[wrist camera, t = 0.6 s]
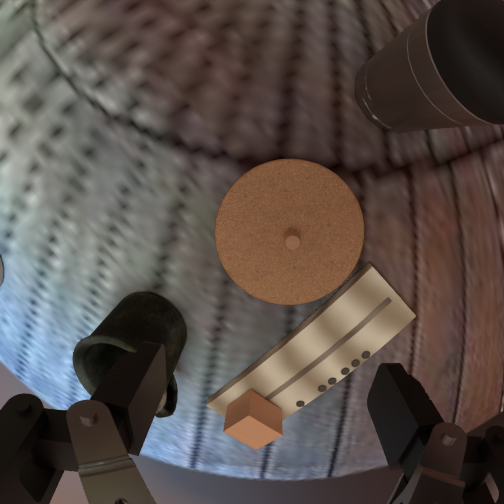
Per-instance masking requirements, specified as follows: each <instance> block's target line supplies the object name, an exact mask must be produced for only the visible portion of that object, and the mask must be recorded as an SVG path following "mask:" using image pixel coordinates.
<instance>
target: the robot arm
mask: <svg viewBox="0 0 504 504" xmlns="http://www.w3.org/2000/svg"><path fill="white" fill-rule="evenodd" d="M355 91H356V97H357V100H358V103H359V105H360V107H361V109H362V111H363V112H364V114H365V115H366V116H367V117H368V119H369V120H371V121H372V122H373V123H374V124H375V125H377V126H378V127H380V128H382V129H384V130H387V131H390V132H396V133H399V132H409V131H420V130H429V129H440V128H451V127H464V126H477V125H497V124H504V1H503V0H440V1H439V2H438V3H437V4H435V5H434V6H433V7H432V8H430V9H429V10H428V11H427V12H425V13H424V14H423V15H422V16H420V17H419V18H418V19H417V20H416V21H415V22H413V23H412V24H411V25H410V26H409V27H407V28H406V29H405V30H404V31H403V32H401V33H400V34H399V35H398V36H397V37H395V38H394V39H393V40H392V41H391V42H390V43H388V44H387V45H386V46H385V47H384V48H383V49H381V50H380V51H379V52H378V53H377V54H375V55H374V56H373V57H372V58H371V59H370V60H369V61H368V62H367V63H366V64H364V65H363V66H362V68H361V69H360V71H359V72H358V75H357V78H356V84H355ZM165 387H166V360H165V346H164V344H159V343H153V342H147V341H143V342H142V344H141V345H140V347H139V348H138V350H137V352H136V353H135V352H130V351H128V352H127V353H125V354H124V355H122V356H120V357H119V358H118V359H117V360H116V362H115V363H114V365H113V366H112V368H111V369H110V370H109V372H108V375H106V376H105V378H104V379H103V381H102V382H101V383H100V385H99V386H98V388H97V389H96V391H95V392H94V394H93V395H92V397H91V398H90V400H82V401H79V402H76V403H74V404H73V405H71V406H70V407H69V409H68V410H55V409H46V408H44V407H43V404H42V402H41V400H40V399H39V398H38V397H36V396H34V395H32V394H18V395H16V396H14V397H12V398H10V399H9V400H8V401H7V403H6V404H5V405H4V406H3V407H2V409H1V410H0V504H49V503H50V501H51V499H52V496H53V494H54V492H55V490H56V488H57V485H58V483H59V481H60V479H61V477H62V474H63V473H64V470H67V471H76V472H78V473H79V476H80V480H81V482H82V485H83V489H84V492H85V494H86V497H87V500H88V503H89V504H156V502H155V500H154V498H153V497H152V495H151V493H150V492H149V489H148V488H147V486H146V484H145V482H144V480H143V478H142V476H141V474H140V472H139V470H138V469H137V467H136V465H135V463H134V461H133V459H132V458H130V457H129V455H128V453H129V454H133V455H137V456H139V453H140V451H141V448H142V446H143V443H144V441H145V438H146V436H147V433H148V431H149V428H150V426H151V423H152V421H153V419H154V416H155V414H156V411H157V409H158V406H159V404H160V401H161V399H162V397H163V394H164V391H165ZM367 407H368V410H369V413H370V416H371V418H372V421H373V424H374V426H375V429H376V432H377V434H378V437H379V440H380V442H381V445H382V448H383V451H384V454H385V456H386V459H387V462H388V465H389V468H390V470H398V469H403V471H404V473H403V474H402V476H401V477H400V479H399V481H398V483H397V485H396V487H395V490H394V491H393V493H392V495H391V497H390V499H389V501H388V503H387V504H504V428H503V427H500V426H492V427H490V428H488V429H487V430H486V432H485V433H484V435H483V436H482V437H474V436H466V433H465V432H464V430H463V429H462V428H461V427H459V426H458V425H456V424H453V423H449V422H444V420H443V419H442V417H441V416H440V414H439V412H438V411H437V409H436V407H435V406H434V404H433V402H432V401H431V400H429V396H428V394H427V393H425V390H424V388H423V387H422V385H421V383H420V382H419V381H417V380H416V379H415V378H414V377H412V376H411V375H408V374H407V372H406V371H405V369H404V368H403V366H402V365H401V364H400V363H382V364H380V366H379V367H378V370H377V373H376V375H375V378H374V381H373V383H372V386H371V389H370V391H369V394H368V398H367ZM490 475H492V477H493V479H494V481H495V483H496V485H497V487H498V490H499V497H498V500H497V502H496V503H494V500H493V498H492V496H491V494H490V491H489V489H488V487H487V485H486V483H485V481H486V480H487V479H488V477H489V476H490Z"/></svg>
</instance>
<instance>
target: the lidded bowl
mask: <svg viewBox="0 0 504 504" xmlns="http://www.w3.org/2000/svg"><path fill="white" fill-rule="evenodd" d="M363 241H364V221H363V214H362V211H361V208H360V205H359V203H358V201H357V199H356V197H355V195H354V193H353V192H352V190H351V189H350V188H349V186H348V185H347V184H346V183H345V182H344V181H343V180H342V179H341V178H340V177H339V176H338V175H337V174H335V173H334V172H332V171H331V170H329V169H328V168H326V167H324V166H322V165H319V164H317V163H314V162H310V161H307V160H301V159H278V160H274V161H270V162H266V163H264V164H261V165H259V166H256V167H254V168H253V169H251V170H250V171H248V172H246V173H245V174H244V175H243V176H241V177H240V178H239V179H238V180H237V181H236V182H235V183H234V184H233V185H232V187H231V188H230V189H229V190H228V191H227V193H226V195H225V197H224V198H223V200H222V202H221V204H220V207H219V210H218V212H217V217H216V222H215V243H216V249H217V252H218V256H219V259H220V261H221V263H222V265H223V267H224V269H225V270H226V272H227V273H228V275H229V276H230V278H231V279H232V280H233V281H234V282H235V283H236V284H237V285H238V286H239V287H241V288H242V289H243V290H244V291H246V292H247V293H249V294H251V295H252V296H254V297H256V298H258V299H261V300H264V301H266V302H270V303H275V304H283V305H294V304H302V303H307V302H311V301H314V300H316V299H319V298H321V297H323V296H325V295H327V294H329V293H330V292H332V291H333V290H334V289H336V288H337V287H338V286H340V285H341V284H342V283H343V282H344V281H345V280H346V278H347V277H348V276H349V275H350V273H351V272H352V270H353V269H354V267H355V265H356V263H357V261H358V259H359V257H360V254H361V251H362V247H363Z"/></svg>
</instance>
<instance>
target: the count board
mask: <svg viewBox="0 0 504 504" xmlns="http://www.w3.org/2000/svg"><path fill="white" fill-rule="evenodd" d="M415 317H416V316H415V314H414V313H413V312H412V311H411V310H410V308H409V307H408V306H407V305H406V304H405V303H404V301H403V300H402V299H401V298H400V297H399V296H398V294H397V293H396V292H395V291H394V290H393V289H392V288H391V286H390V285H389V284H388V283H387V282H386V281H385V280H384V279H383V277H382V276H381V275H380V274H379V273H378V272H377V271H376V270H375V269H374V268H373V266H372V265H371V264H370V263H369V262H368V263H367V264H366V265H365V266H364V267H363V268H362V269H361V270H360V271H359V272H358V273H357V274H356V275H355V276H354V277H353V278H352V279H351V280H349V281H348V282H347V283H346V284H345V285H344V286H343V287H342V288H341V289H340V290H339V291H338V292H337V293H336V294H334V295H333V296H332V297H331V298H330V299H329V300H328V301H327V302H326V303H325V304H323V305H322V306H321V307H320V308H319V309H318V310H317V311H316V312H314V313H313V314H312V315H311V316H310V317H309V318H308V319H306V320H305V321H304V322H303V323H302V324H301V325H300V326H298V327H297V328H296V329H295V330H294V331H293V332H291V333H290V334H289V335H288V336H287V337H285V338H284V339H283V340H282V341H281V342H280V343H278V344H277V345H276V346H275V347H273V348H272V349H271V350H270V351H269V352H267V353H266V354H265V355H264V356H262V357H261V358H260V359H259V360H257V361H256V362H255V363H254V364H252V365H251V366H250V367H249V368H247V369H246V370H245V371H244V372H242V373H241V374H240V375H238V376H237V377H236V378H235V379H233V380H232V381H231V382H229V383H228V384H227V385H225V386H224V387H223V388H221V389H220V390H219V391H217V392H216V393H215V394H213V395H212V396H211V397H209V398H208V400H207V404H206V406H208V407H209V408H211V409H213V410H214V411H216V412H217V413H219V414H220V415H222V416H224V417H226V411H227V406H228V405H230V404H231V403H233V402H234V401H235V400H237V399H238V398H240V397H241V396H243V395H244V394H245V393H247V392H248V391H250V390H253V391H254V392H255V393H257V394H258V395H260V396H261V397H263V398H265V399H266V400H268V401H269V402H271V403H272V404H274V405H275V406H277V407H278V408H280V409H282V420H283V419H285V418H286V417H288V416H289V415H291V414H292V413H294V412H295V411H297V410H298V409H300V408H301V407H303V406H304V405H306V404H307V403H309V402H310V401H312V400H313V399H315V398H316V397H317V396H319V395H320V394H322V393H323V392H325V391H326V390H327V389H329V388H330V387H331V386H333V385H334V384H336V383H337V382H338V381H340V380H341V379H342V378H344V377H345V376H346V375H348V374H349V373H350V372H351V371H353V370H354V369H355V368H357V367H358V366H359V365H360V364H362V363H363V362H364V361H365V360H367V359H368V358H369V357H370V356H371V355H373V354H374V353H375V352H376V351H378V350H379V349H380V348H381V347H382V346H383V345H385V344H386V343H387V342H388V341H389V340H390V339H392V338H393V337H394V336H395V335H396V334H397V333H398V332H399V331H401V330H402V329H403V328H404V327H405V326H406V325H407V324H408V323H409V322H410V321H412V320H413V319H414V318H415Z"/></svg>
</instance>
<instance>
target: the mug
mask: <svg viewBox="0 0 504 504" xmlns="http://www.w3.org/2000/svg"><path fill="white" fill-rule="evenodd" d="M143 341H147V342H153V343H159V344H164V346H165V360H166V387H165V391H164V394H163V397H162V399H161V401H160V404H159V406H158V409H157V411H156V414H155V416H156V417H158V418H163V417H168V416H171V415H172V414H173V413H174V411H175V409H176V404H177V393H178V390H177V383H176V380H175V377H174V375H173V372H174V369H175V367H176V365H177V362H178V360H179V357H180V355H181V352H182V350H183V348H184V345H185V342H186V328H185V325H184V322H183V320H182V318H181V316H180V315H179V313H178V312H177V311H176V310H175V309H174V307H173V306H172V305H170V304H169V303H168V302H167V301H165V300H164V299H162V298H160V297H158V296H155V295H152V294H148V293H134V294H131V295H129V296H127V297H125V298H124V299H123V300H122V301H121V302H120V303H119V304H118V305H117V306H116V307H115V308H114V309H113V310H112V312H111V313H110V314H109V315H108V316H107V317H106V318H105V319H104V320H103V322H102V323H101V324H100V325H99V326H98V327H97V328H96V329H95V331H94V332H93V333H92V334H91V335H90V336H88V337H86V338H84V339H82V340H81V341H80V342H78V344H77V345H76V347H75V349H74V352H73V366H74V370H75V372H76V375H77V377H78V379H79V381H80V382H81V384H82V385H83V387H84V388H85V389H86V390H87V392H88V393H89V394H90V395H91V396H92V395H93V394H94V392H95V391H96V389H97V388H98V386H99V385H100V383H101V382H102V381H103V379H104V378H105V376H106V375H108V372H109V370H110V369H111V368H112V366H113V365H114V363H115V362H116V360H117V359H118V358H119V357H120V356H122V355H124V354H125V353H127V352H128V351H130V352H135V353H136V352H137V350H138V348H139V347H140V345H141V344H142V342H143Z"/></svg>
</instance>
